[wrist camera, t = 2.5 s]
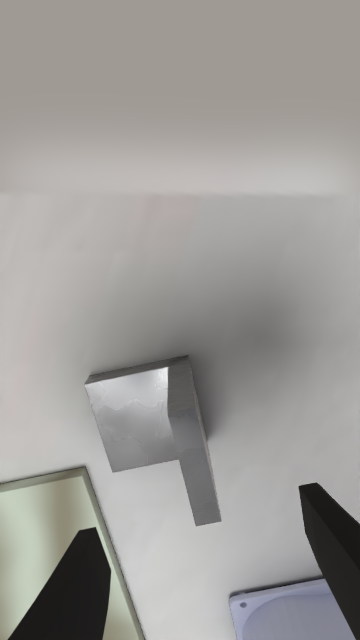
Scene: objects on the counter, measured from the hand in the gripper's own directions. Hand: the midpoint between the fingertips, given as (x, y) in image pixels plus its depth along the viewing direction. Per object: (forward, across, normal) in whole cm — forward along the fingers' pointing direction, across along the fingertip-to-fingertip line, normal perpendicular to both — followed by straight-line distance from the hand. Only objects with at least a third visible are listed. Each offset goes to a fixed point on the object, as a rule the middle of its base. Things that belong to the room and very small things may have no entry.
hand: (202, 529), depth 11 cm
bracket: (+9, +2, 0) cm, 9 cm away
